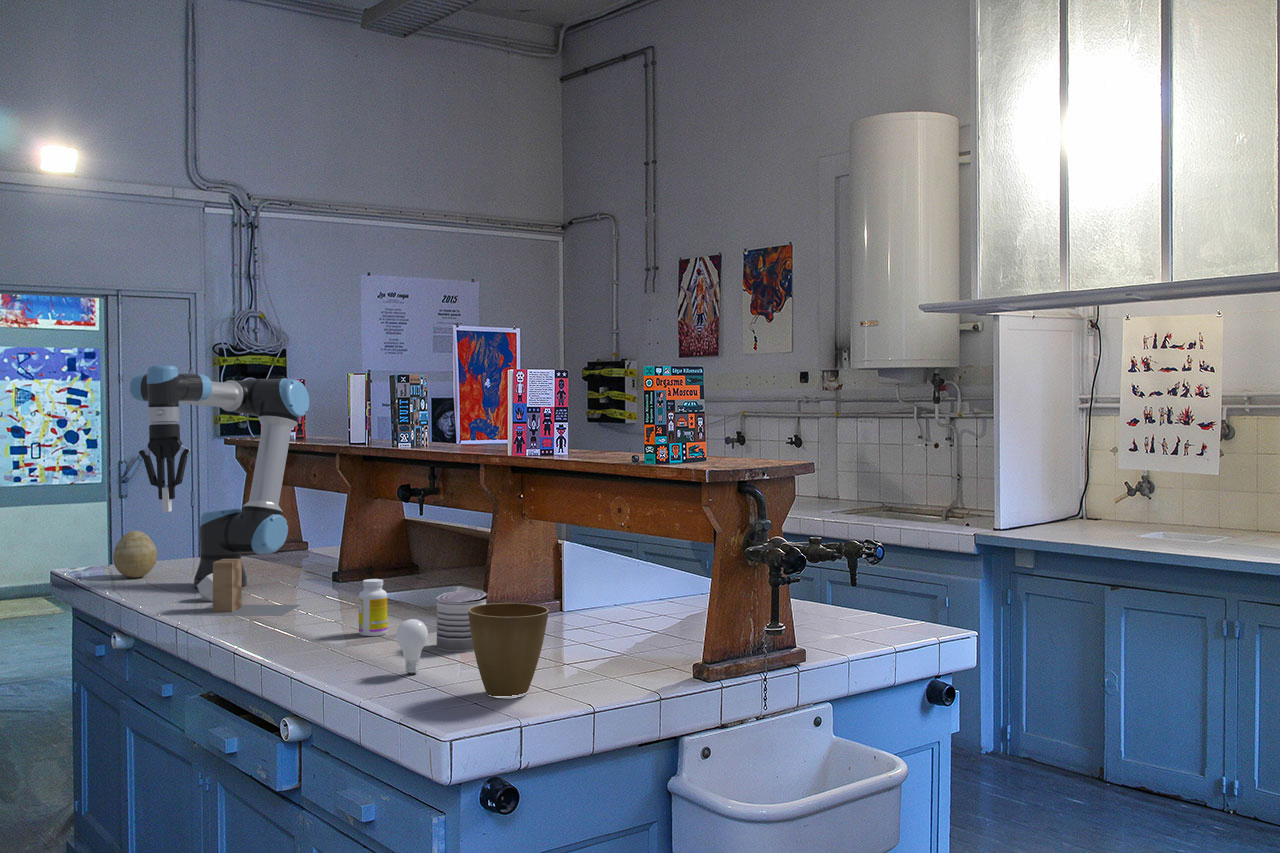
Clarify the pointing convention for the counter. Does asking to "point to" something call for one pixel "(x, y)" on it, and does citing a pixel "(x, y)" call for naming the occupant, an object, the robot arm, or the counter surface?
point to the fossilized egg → (135, 554)
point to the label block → (227, 585)
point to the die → (206, 588)
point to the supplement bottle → (372, 608)
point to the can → (456, 619)
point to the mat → (249, 611)
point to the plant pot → (507, 644)
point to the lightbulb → (412, 642)
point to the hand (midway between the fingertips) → (167, 511)
